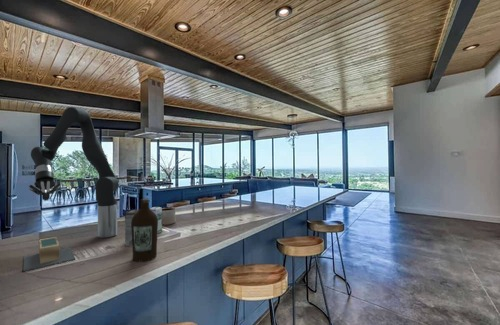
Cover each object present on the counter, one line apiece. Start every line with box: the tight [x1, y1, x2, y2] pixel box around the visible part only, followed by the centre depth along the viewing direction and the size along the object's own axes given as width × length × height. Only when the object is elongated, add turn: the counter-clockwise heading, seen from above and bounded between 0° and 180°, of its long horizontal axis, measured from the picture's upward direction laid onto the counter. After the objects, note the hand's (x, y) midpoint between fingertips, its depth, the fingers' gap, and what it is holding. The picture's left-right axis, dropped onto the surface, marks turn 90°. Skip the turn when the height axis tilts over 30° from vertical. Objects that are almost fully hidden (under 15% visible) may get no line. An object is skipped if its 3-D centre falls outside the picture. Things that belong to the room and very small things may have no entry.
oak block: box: [38, 236, 60, 264], centre depth 103 cm, size 6×6×16 cm
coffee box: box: [124, 209, 140, 247], centre depth 122 cm, size 9×6×16 cm
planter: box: [161, 207, 177, 226], centre depth 161 cm, size 11×11×10 cm
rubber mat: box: [22, 247, 77, 272], centre depth 102 cm, size 18×16×1 cm
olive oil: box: [131, 198, 158, 262], centre depth 103 cm, size 11×11×25 cm
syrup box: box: [149, 206, 163, 234], centre depth 139 cm, size 6×6×14 cm
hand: (46, 199), depth 120 cm, fingers closed
